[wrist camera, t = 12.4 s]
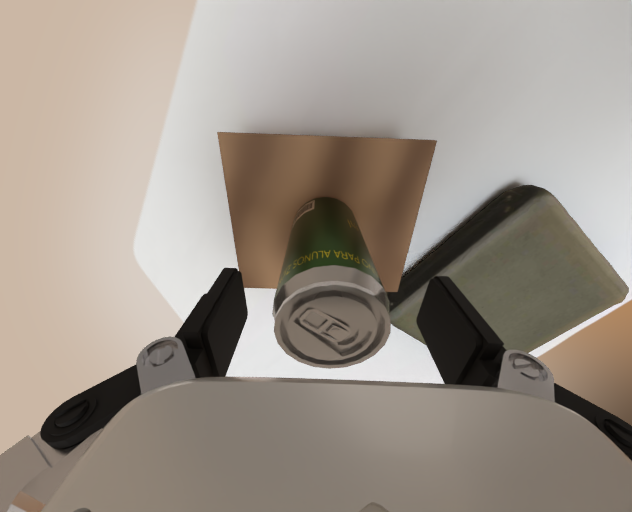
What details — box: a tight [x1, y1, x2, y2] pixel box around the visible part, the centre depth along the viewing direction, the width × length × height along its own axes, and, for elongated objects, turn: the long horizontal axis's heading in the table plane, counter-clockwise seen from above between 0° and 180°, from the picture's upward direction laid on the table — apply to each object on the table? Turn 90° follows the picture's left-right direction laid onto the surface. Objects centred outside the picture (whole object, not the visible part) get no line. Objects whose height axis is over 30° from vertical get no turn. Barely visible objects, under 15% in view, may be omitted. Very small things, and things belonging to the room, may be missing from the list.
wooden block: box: [217, 132, 437, 292], centre depth 23 cm, size 16×14×7 cm
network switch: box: [386, 185, 629, 353], centre depth 30 cm, size 23×24×5 cm
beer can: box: [272, 197, 391, 368], centre depth 15 cm, size 5×5×12 cm
